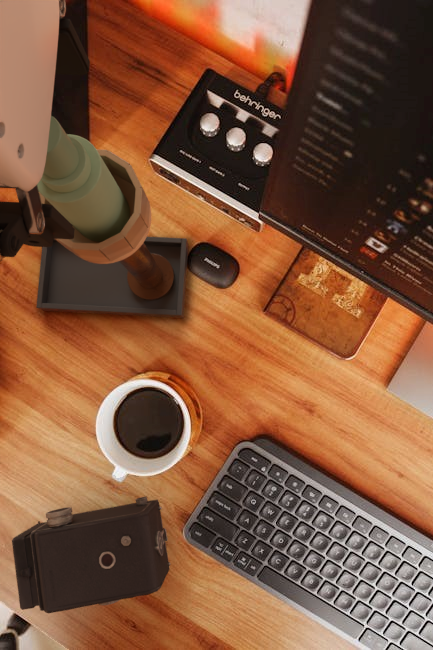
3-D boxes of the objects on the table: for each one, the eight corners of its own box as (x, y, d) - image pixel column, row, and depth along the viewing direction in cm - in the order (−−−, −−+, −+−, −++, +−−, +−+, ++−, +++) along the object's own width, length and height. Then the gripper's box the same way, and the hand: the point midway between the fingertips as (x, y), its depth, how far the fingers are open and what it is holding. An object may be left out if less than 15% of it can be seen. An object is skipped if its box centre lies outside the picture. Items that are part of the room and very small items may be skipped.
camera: (159, 478, 66) (31, 505, 65) (154, 492, 55) (-1, 526, 54) (176, 570, 65) (46, 600, 63) (174, 604, 53) (16, 642, 52)
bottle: (71, 240, 43) (-7, 171, 29) (76, 185, 43) (2, 92, 30) (127, 243, 43) (76, 175, 29) (132, 188, 43) (83, 95, 30)
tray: (43, 310, 68) (36, 307, 66) (50, 237, 69) (43, 231, 67) (183, 318, 67) (181, 315, 65) (188, 243, 68) (186, 238, 66)
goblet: (119, 306, 67) (33, 247, 39) (123, 246, 68) (43, 146, 40) (180, 309, 67) (137, 252, 39) (184, 249, 67) (145, 150, 40)
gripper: (-250, -409, 16) (6, 6, 33) (-358, 181, 14) (-26, 297, 31) (10, -414, 15) (133, 9, 32) (-63, 193, 13) (109, 304, 30)
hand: (55, 149), depth 32 cm, fingers open, 9 cm apart
